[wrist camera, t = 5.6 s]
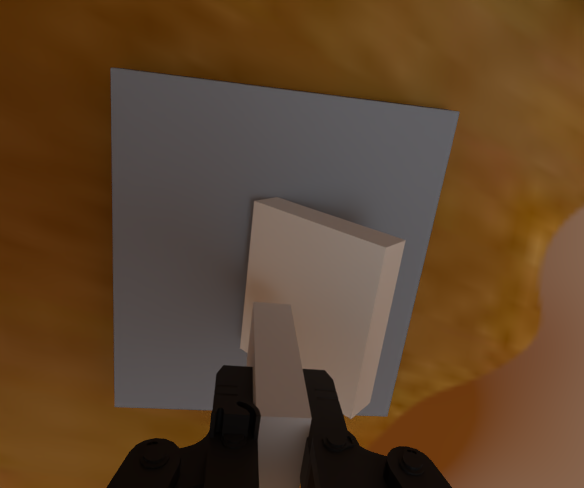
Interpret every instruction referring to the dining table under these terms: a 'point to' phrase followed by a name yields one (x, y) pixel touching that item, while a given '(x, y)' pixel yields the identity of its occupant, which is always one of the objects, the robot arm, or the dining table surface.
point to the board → (248, 214)
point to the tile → (325, 290)
